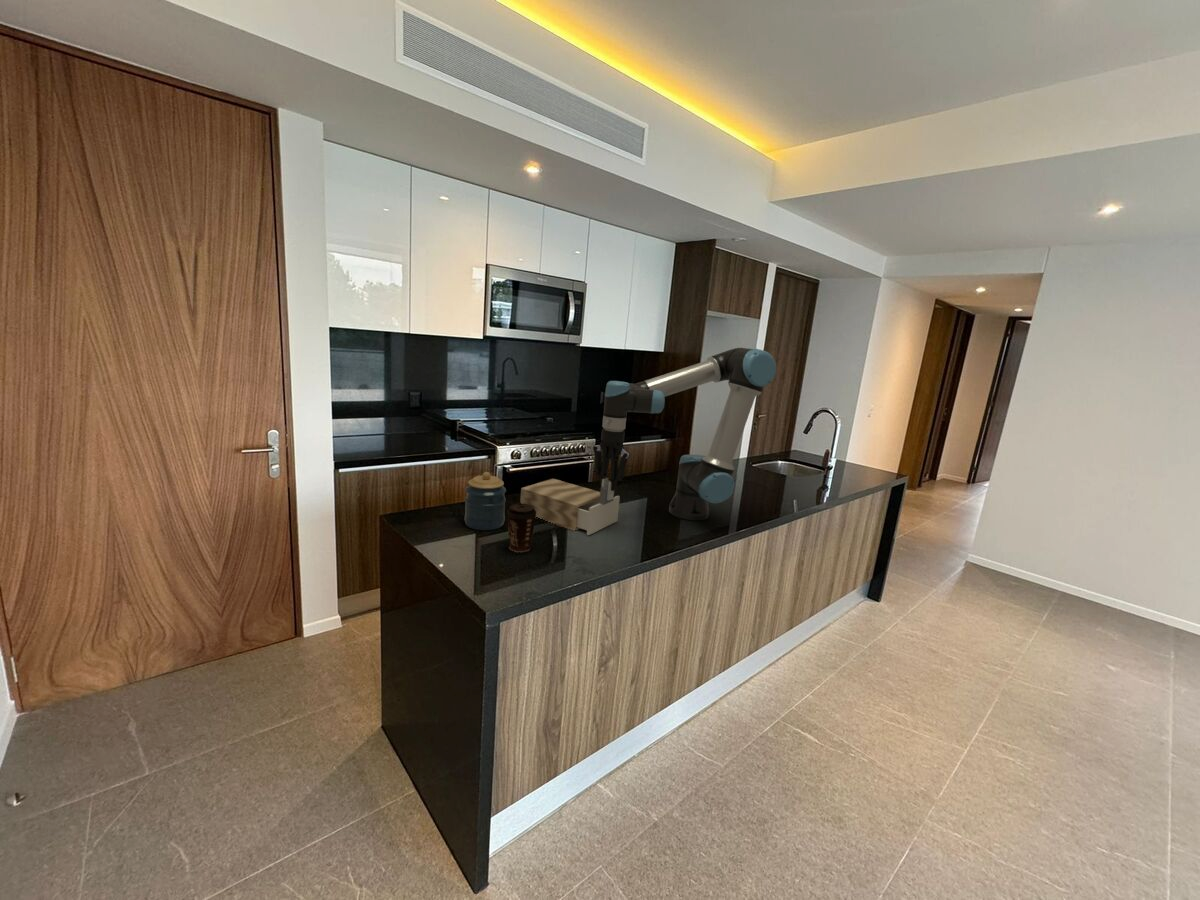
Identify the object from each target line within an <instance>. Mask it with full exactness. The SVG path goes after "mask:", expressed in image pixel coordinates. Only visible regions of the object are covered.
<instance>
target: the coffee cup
mask: <svg viewBox="0 0 1200 900" xmlns="http://www.w3.org/2000/svg"><path fill="white" fill-rule="evenodd" d="M506 516H507V522H508V523H507V529H508V530H507V531H508V537H509V541H510V542H509V543H510V544H509V546H508V549H509V550H510V551H512V552H513V551H514V552H513V553H519V552H520V553H526V552H529V551H530V550H531V549H532V541H533V537H534V532H535V523H536V521H535V520H536V519H537V518H536V511H535V509H534V506H532V505H529V504H525V503H523V504H522V503H520V502H519V503H517V502H516V503H514V504H511V505H510V506H509V508H508V509H507V511H506Z"/></svg>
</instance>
